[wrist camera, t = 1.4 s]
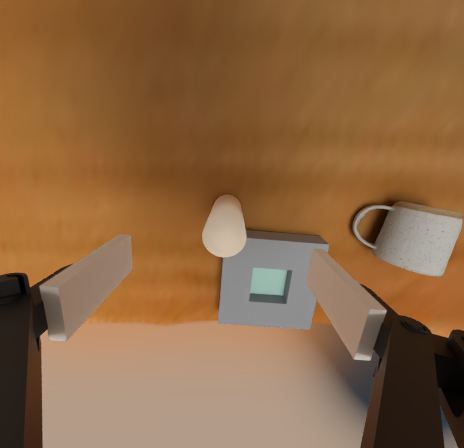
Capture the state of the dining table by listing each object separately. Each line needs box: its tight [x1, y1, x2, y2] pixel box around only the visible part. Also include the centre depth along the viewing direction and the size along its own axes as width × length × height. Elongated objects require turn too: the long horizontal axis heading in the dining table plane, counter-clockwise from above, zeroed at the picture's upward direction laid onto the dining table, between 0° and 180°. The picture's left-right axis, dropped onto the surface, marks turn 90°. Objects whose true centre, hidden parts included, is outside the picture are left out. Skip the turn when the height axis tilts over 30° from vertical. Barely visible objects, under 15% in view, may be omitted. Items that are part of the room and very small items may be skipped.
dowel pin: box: [202, 194, 247, 257], centre depth 25 cm, size 4×4×12 cm
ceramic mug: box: [352, 201, 463, 276], centre depth 28 cm, size 11×8×8 cm
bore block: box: [218, 230, 329, 330], centre depth 32 cm, size 14×14×4 cm
